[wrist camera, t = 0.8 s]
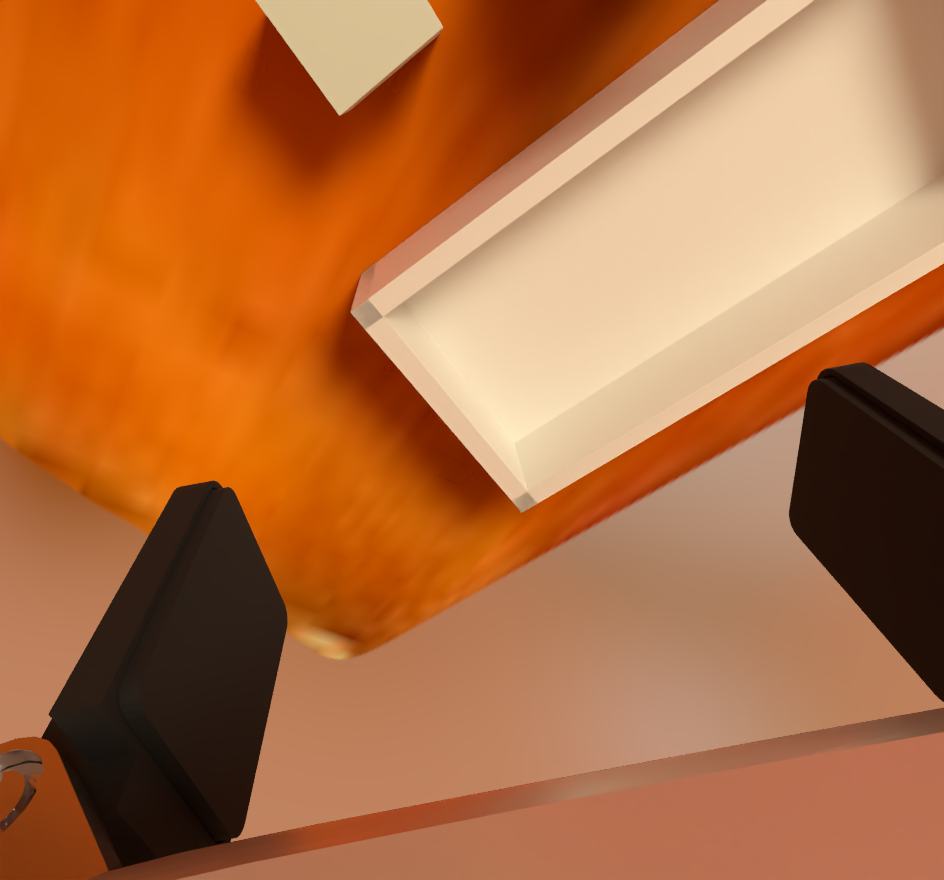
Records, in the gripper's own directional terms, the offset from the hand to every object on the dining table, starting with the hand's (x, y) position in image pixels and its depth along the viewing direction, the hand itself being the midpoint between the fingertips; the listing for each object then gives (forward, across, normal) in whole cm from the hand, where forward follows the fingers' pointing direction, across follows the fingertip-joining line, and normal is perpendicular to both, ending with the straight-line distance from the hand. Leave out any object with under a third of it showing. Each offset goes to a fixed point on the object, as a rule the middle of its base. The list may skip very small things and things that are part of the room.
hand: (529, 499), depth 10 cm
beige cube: (+24, +2, -9) cm, 26 cm away
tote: (+24, -12, +2) cm, 26 cm away
